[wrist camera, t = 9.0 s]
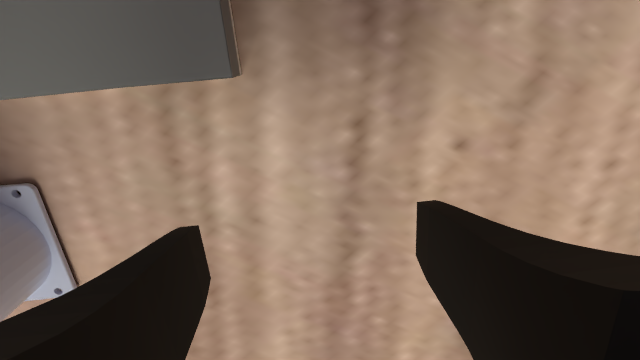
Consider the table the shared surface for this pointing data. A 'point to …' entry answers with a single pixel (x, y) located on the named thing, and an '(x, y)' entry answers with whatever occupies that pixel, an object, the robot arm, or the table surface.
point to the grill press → (107, 44)
